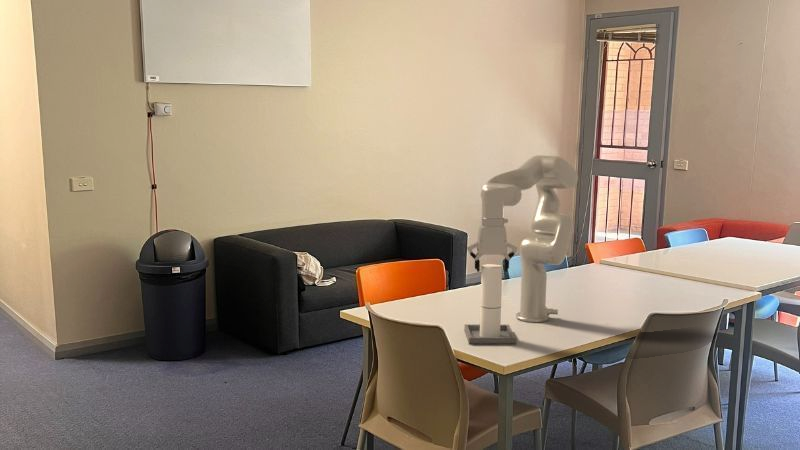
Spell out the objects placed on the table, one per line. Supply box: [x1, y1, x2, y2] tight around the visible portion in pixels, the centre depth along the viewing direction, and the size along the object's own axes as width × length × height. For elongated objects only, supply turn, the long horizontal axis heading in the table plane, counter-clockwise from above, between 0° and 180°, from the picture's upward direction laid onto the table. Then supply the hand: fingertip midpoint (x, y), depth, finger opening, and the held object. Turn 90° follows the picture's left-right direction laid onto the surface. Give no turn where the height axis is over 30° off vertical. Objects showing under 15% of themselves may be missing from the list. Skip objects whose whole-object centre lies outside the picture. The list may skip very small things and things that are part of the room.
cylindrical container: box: [479, 263, 503, 337], centre depth 262 cm, size 7×7×25 cm
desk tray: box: [464, 323, 517, 346], centre depth 263 cm, size 16×16×2 cm
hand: (491, 270), depth 260 cm, fingers open, 9 cm apart
